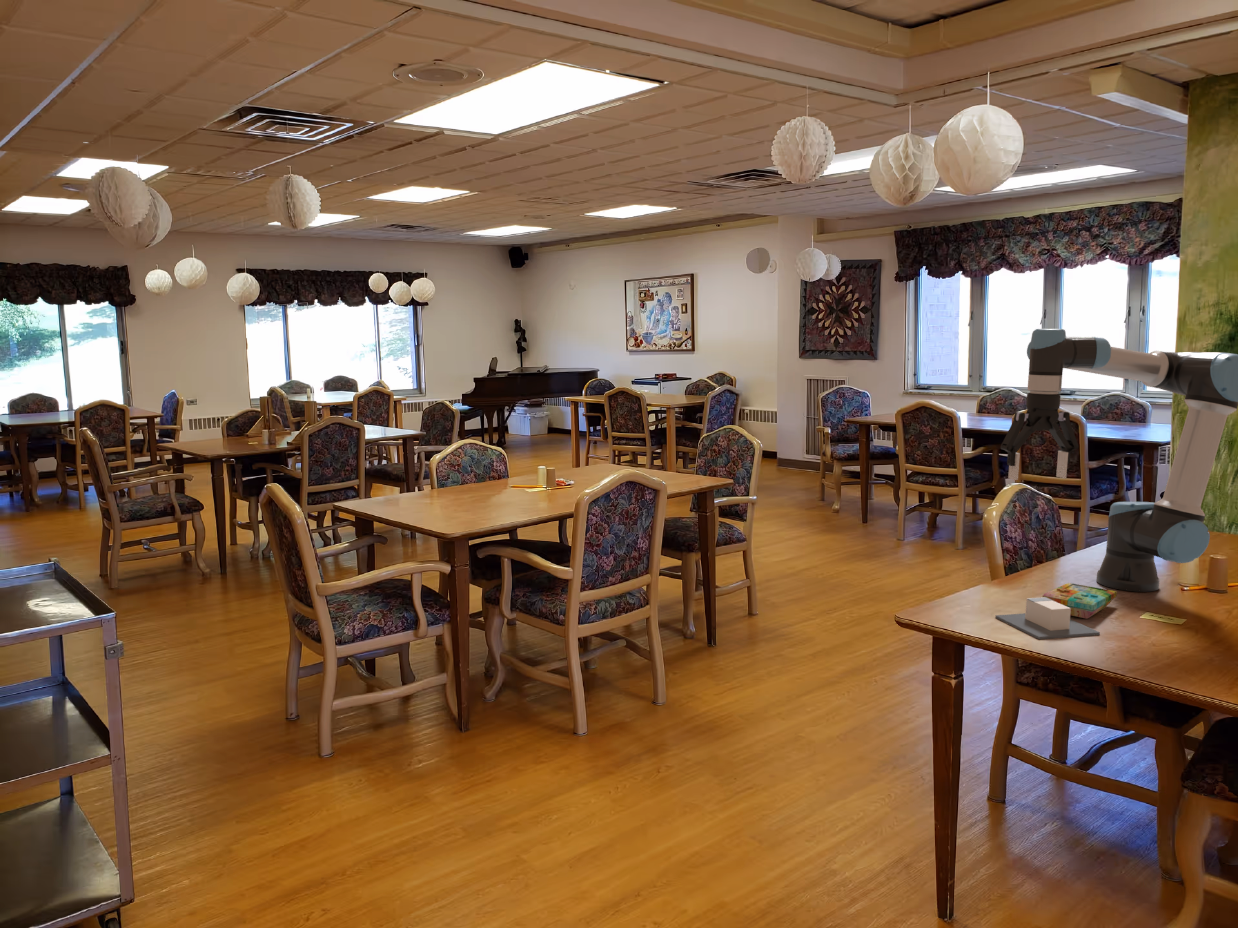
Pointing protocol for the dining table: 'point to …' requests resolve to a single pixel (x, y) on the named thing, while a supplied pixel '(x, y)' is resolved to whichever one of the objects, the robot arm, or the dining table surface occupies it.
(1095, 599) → the puzzle game
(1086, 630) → the mat
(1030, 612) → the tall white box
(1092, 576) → the dining table surface
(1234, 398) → the robot arm
